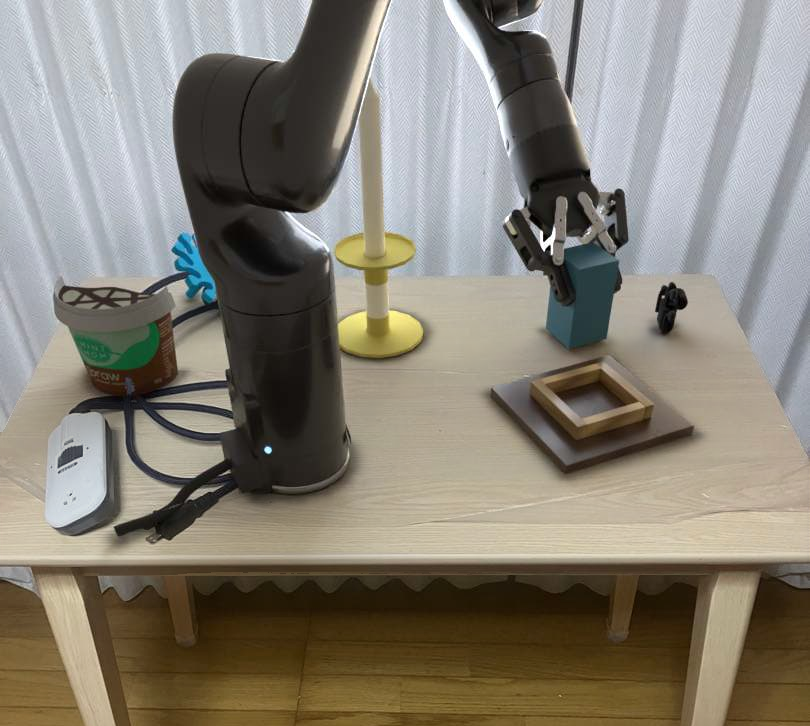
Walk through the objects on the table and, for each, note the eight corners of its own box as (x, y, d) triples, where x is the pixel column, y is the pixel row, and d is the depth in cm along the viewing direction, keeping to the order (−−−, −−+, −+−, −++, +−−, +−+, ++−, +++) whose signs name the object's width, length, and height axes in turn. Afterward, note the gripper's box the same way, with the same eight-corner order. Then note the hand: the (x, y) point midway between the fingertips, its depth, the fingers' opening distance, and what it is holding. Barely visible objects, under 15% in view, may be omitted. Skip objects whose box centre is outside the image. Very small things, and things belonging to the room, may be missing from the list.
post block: (568, 349, 92) (579, 269, 86) (545, 328, 95) (553, 250, 89) (606, 339, 93) (619, 260, 87) (582, 319, 97) (593, 241, 90)
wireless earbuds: (652, 312, 98) (660, 270, 95) (674, 313, 98) (684, 271, 94) (661, 344, 93) (670, 301, 89) (684, 345, 93) (694, 302, 89)
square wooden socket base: (565, 474, 77) (568, 452, 75) (490, 395, 86) (491, 374, 85) (692, 434, 81) (698, 412, 79) (607, 362, 90) (611, 341, 89)
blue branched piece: (225, 313, 96) (161, 241, 94) (196, 343, 99) (134, 273, 97) (270, 282, 104) (213, 215, 102) (242, 310, 108) (186, 246, 106)
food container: (54, 395, 88) (22, 305, 81) (83, 363, 92) (56, 275, 85) (167, 409, 86) (144, 318, 79) (191, 375, 90) (172, 286, 83)
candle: (400, 304, 100) (395, 44, 82) (438, 344, 94) (441, 71, 75) (320, 324, 97) (295, 58, 79) (353, 366, 91) (334, 88, 72)
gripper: (495, 132, 84) (548, 300, 84) (619, 111, 88) (669, 271, 88) (468, 170, 91) (517, 325, 91) (583, 148, 95) (630, 296, 95)
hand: (591, 297), depth 89 cm, fingers closed on post block, 4 cm apart
